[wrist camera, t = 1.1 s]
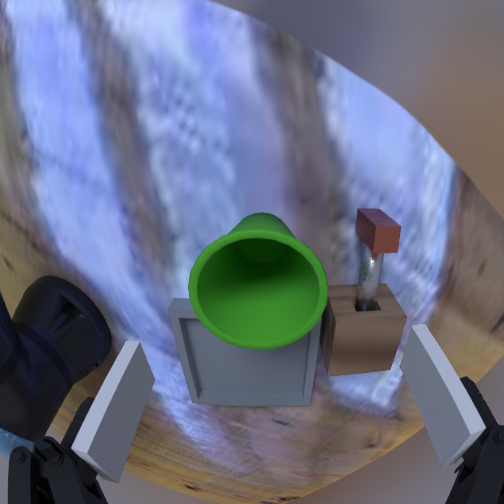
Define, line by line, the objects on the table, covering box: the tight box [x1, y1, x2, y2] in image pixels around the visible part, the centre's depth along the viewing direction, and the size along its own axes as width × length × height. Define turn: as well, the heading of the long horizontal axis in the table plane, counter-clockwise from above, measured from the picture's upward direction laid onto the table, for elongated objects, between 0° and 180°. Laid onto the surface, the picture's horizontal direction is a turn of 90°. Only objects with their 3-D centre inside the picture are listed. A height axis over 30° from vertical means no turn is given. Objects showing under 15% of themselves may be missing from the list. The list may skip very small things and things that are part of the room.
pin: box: [355, 208, 401, 312], centre depth 25 cm, size 10×2×5 cm, turn 2°
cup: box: [188, 212, 329, 350], centre depth 24 cm, size 9×9×11 cm
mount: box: [320, 284, 407, 376], centre depth 28 cm, size 7×7×6 cm
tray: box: [168, 298, 322, 406], centre depth 33 cm, size 16×16×2 cm
